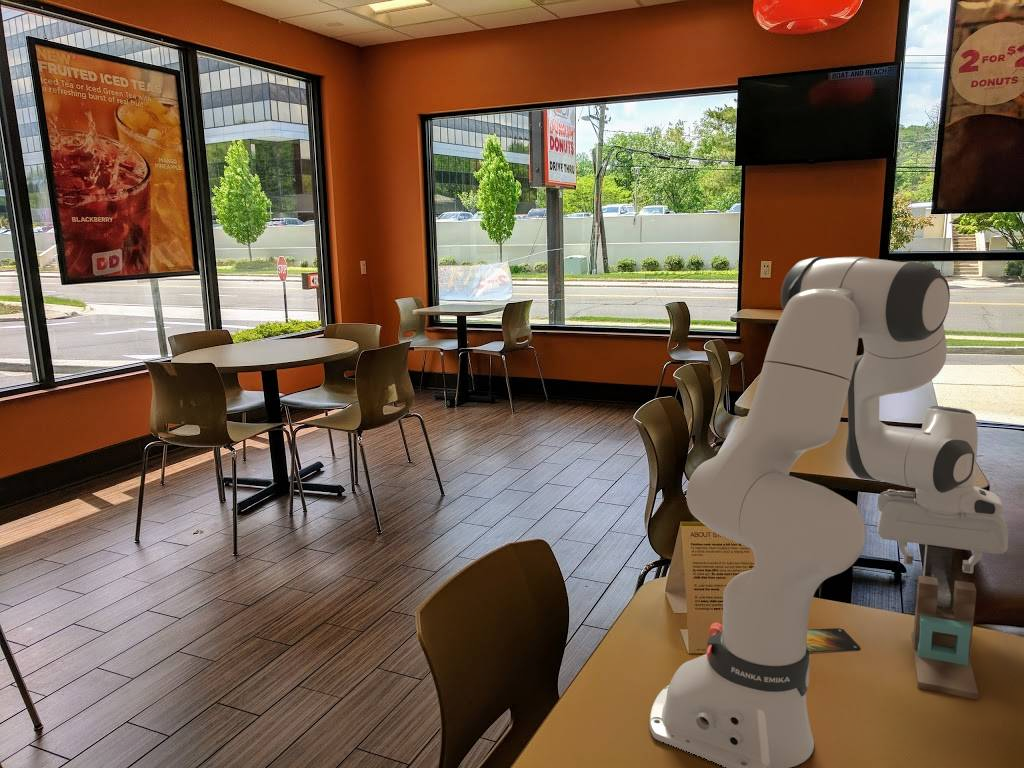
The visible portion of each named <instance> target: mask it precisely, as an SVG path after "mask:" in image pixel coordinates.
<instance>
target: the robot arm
mask: <svg viewBox="0 0 1024 768" xmlns="http://www.w3.org/2000/svg"><path fill="white" fill-rule="evenodd" d="M950 291H951V290H950V286H949V283H948V280H947V279H946V277H945V276H944V275H943V273H941V272H940V270H939V269H938V268H936V267H935V266H933V265H929V264H926V263H921V262H916V261H910V262H901V261H895V260H888V259H882V258H881V259H880V258H870V257H867V256H842V257H841V256H840V257H839V256H838V257H829V258H827V257H825V256H816V257H810V258H806V259H802V260H799V261H798V262H797V263H795V265H793V267H791V268H790V269H789V271H788V272H787V273H786V275H785V277H784V279H783V282H782V285H781V287H780V303H781V309H782V313H781V315H780V317H779V319H778V321H777V324H776V325H775V329H774V331H773V333H772V336H771V339H770V340H769V341H770V342H769V344H768V347H767V350H766V354H765V357H764V362H763V364H762V365H763V366H762V369H761V370H760V371H761V372H760V376H759V379H758V382H757V385H756V388H755V389H756V390H755V392H754V396H753V399H752V402H751V405H750V408H749V410H748V413H747V415H746V418H745V420H744V422H743V424H742V426H741V427H740V428H739V430H738V432H737V434H736V435H735V436H734V437H733V439H732V440H731V441H730V442H729V443H728V444H727V445H726V447H724V449H723V450H722V451H720V452H719V453H718V454H717V455H714V456H713V457H712V458H709V459H707V460H705V461H703V462H701V463H700V464H699V465H698V466H697V467H696V468H695V469H694V471H693V472H692V474H691V476H690V477H689V480H688V482H687V486H686V487H687V488H686V493H685V494H686V503H687V507H688V509H689V512H690V513H691V515H692V516H693V517H694V518H695V519H697V520H698V521H699V522H701V523H702V524H703V525H704V526H706V528H708V529H710V531H712V532H714V533H715V534H717V535H719V536H722V537H723V538H726V539H729V540H730V541H734V542H735V543H738V544H740V545H742V546H744V547H746V548H749V549H750V550H752V553H753V556H754V564H753V568H752V569H749V570H746V571H743V572H740V573H739V574H737V575H735V576H734V577H733V578H732V579H730V581H729V582H728V583H727V585H726V586H725V588H724V589H723V590H724V591H723V595H722V597H723V598H722V599H723V600H722V601H723V602H722V624H721V622H713V623H712V624H711V625H710V626H709V627H710V628H709V629H708V632H707V633H708V640H707V645H706V653H705V654H703V655H700V656H698V657H695V658H693V659H691V660H687V661H685V662H684V663H682V664H681V665H680V666H679V667H678V669H677V670H676V671H675V673H673V674H674V675H673V676H672V678H671V680H670V683H669V684H668V685H666V687H665V686H664V688H662V690H661V691H660V692H659V693H658V694H657V696H656V698H655V699H654V701H653V704H652V706H651V709H650V714H649V730H650V733H651V735H652V737H653V738H654V739H655V740H657V741H659V742H661V743H663V742H664V744H666V745H668V744H669V746H671V745H672V746H671V747H673V746H674V748H676V747H677V748H676V749H678V748H679V749H678V750H681V749H682V750H681V751H683V750H684V751H683V752H686V751H687V752H686V753H688V752H690V753H689V754H691V753H692V754H691V755H693V754H695V755H697V756H696V757H698V756H701V757H703V758H705V759H707V760H706V761H708V760H711V761H713V762H715V763H717V764H716V765H718V764H719V765H718V766H720V765H722V766H721V767H723V768H725V767H726V768H792V767H797V766H798V765H800V764H803V763H805V762H806V761H807V760H808V759H809V758H810V757H811V755H812V754H813V752H814V748H815V740H814V737H813V733H812V729H811V725H810V720H809V714H808V705H807V691H808V688H809V683H810V669H811V667H810V666H811V659H810V653H809V649H808V647H807V645H806V642H807V630H808V627H809V617H810V610H811V605H812V601H813V598H814V596H815V594H816V592H817V590H818V588H819V586H821V584H823V582H824V581H825V580H827V579H829V578H831V577H834V576H836V575H839V574H841V573H843V572H845V571H847V570H848V569H849V568H850V567H852V566H853V565H854V564H855V562H856V561H857V560H858V559H859V558H860V556H861V554H862V552H863V549H864V547H865V543H866V535H867V532H866V523H865V519H864V516H863V514H862V512H861V510H860V508H859V507H858V505H856V504H855V503H853V502H852V501H850V500H849V499H847V498H845V497H844V496H842V495H841V494H838V493H836V492H835V491H833V490H831V489H829V488H828V487H826V486H823V485H821V484H817V483H814V482H811V481H808V480H804V479H802V478H797V477H795V476H792V475H790V472H791V471H792V468H793V466H794V465H795V463H796V461H797V460H798V459H799V458H800V457H801V456H802V455H803V454H804V453H806V452H807V451H810V450H814V449H817V448H821V447H822V446H824V445H827V444H828V443H830V441H832V440H833V438H834V437H836V433H837V432H838V430H839V425H840V422H841V418H842V415H843V412H844V407H845V403H846V400H847V430H848V432H847V434H848V435H847V442H846V448H845V460H846V462H847V463H846V464H847V466H848V467H849V468H850V470H851V471H852V472H853V473H854V474H855V476H856V477H857V478H859V479H862V480H869V481H875V482H885V483H889V484H892V485H893V484H894V485H898V486H903V487H906V488H907V487H908V488H913V489H915V491H911V490H910V491H909V490H896V489H887V490H886V491H883V492H880V493H879V495H878V496H877V509H878V510H879V515H878V521H877V522H878V523H877V534H878V536H879V537H880V538H881V539H883V540H889V541H897V545H898V546H897V547H898V548H899V550H900V552H901V553H902V556H903V560H902V562H903V564H905V565H911V566H913V565H914V564H913V560H914V553H913V552H909V551H908V550H907V546H908V543H911V544H919V545H934V546H941V547H949V548H953V549H958V550H965V551H971V554H972V555H971V556H970V557H969V559H963V560H962V567H961V568H962V569H961V570H962V573H968V574H973V573H974V566H976V564H977V563H978V562H979V561H981V559H982V558H983V553H989V554H996V555H1003V554H1004V553H1005V552H1006V551H1007V550H1008V548H1009V531H1008V525H1007V522H1006V519H1005V517H1004V515H1003V511H1004V504H1003V502H1002V500H1001V498H1000V497H999V495H997V494H996V493H994V492H993V491H990V490H987V489H984V488H981V487H978V486H976V485H975V478H974V473H973V472H974V466H975V464H976V461H977V458H978V443H979V442H978V438H979V437H978V436H979V435H978V434H979V433H978V423H977V418H976V414H975V413H973V412H972V411H970V410H968V409H963V408H957V407H956V408H955V407H950V406H941V405H933V406H932V405H931V406H930V407H927V408H926V411H925V414H924V417H923V420H922V426H921V430H920V431H914V430H910V429H904V428H903V429H902V428H897V427H892V426H890V425H888V424H885V423H884V422H882V421H881V420H880V397H883V396H888V395H893V394H903V393H906V392H911V391H914V390H917V389H919V388H921V387H923V386H925V385H926V384H928V383H929V382H931V381H932V380H933V379H935V377H937V376H938V375H939V373H940V372H941V371H942V369H943V367H944V366H945V363H946V361H947V339H946V331H945V326H944V322H945V320H946V317H947V314H948V311H949V308H950V307H949V306H950V297H951V292H950ZM859 339H862V344H863V353H862V354H861V355H859V356H857V352H858V347H859ZM695 755H694V756H695ZM703 758H702V759H703ZM705 759H704V760H705ZM713 762H712V763H713ZM715 763H714V764H715Z"/></svg>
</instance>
